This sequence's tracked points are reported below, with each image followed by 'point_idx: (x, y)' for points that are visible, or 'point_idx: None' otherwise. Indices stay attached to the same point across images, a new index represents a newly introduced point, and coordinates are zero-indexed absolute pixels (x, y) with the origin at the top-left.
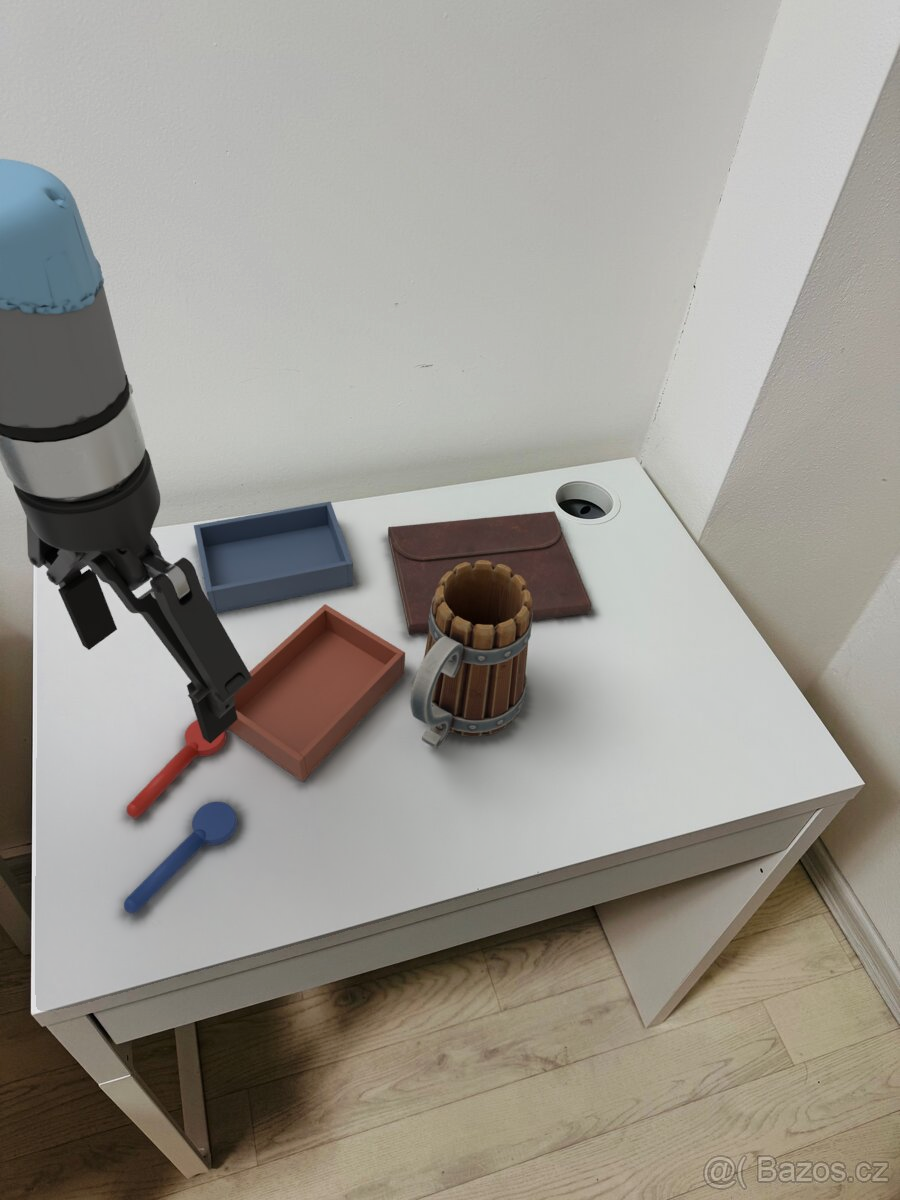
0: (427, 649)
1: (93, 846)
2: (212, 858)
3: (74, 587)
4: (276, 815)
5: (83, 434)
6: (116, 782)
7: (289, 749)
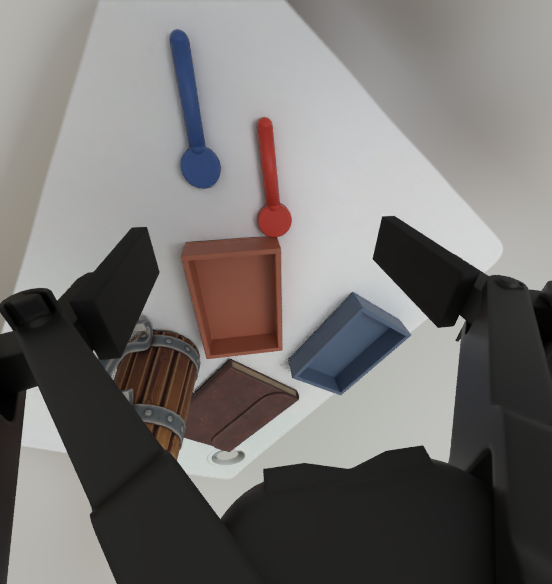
0: (171, 384)
1: (268, 66)
2: (176, 140)
3: (454, 292)
4: (174, 208)
5: None
6: (303, 135)
7: (196, 258)
